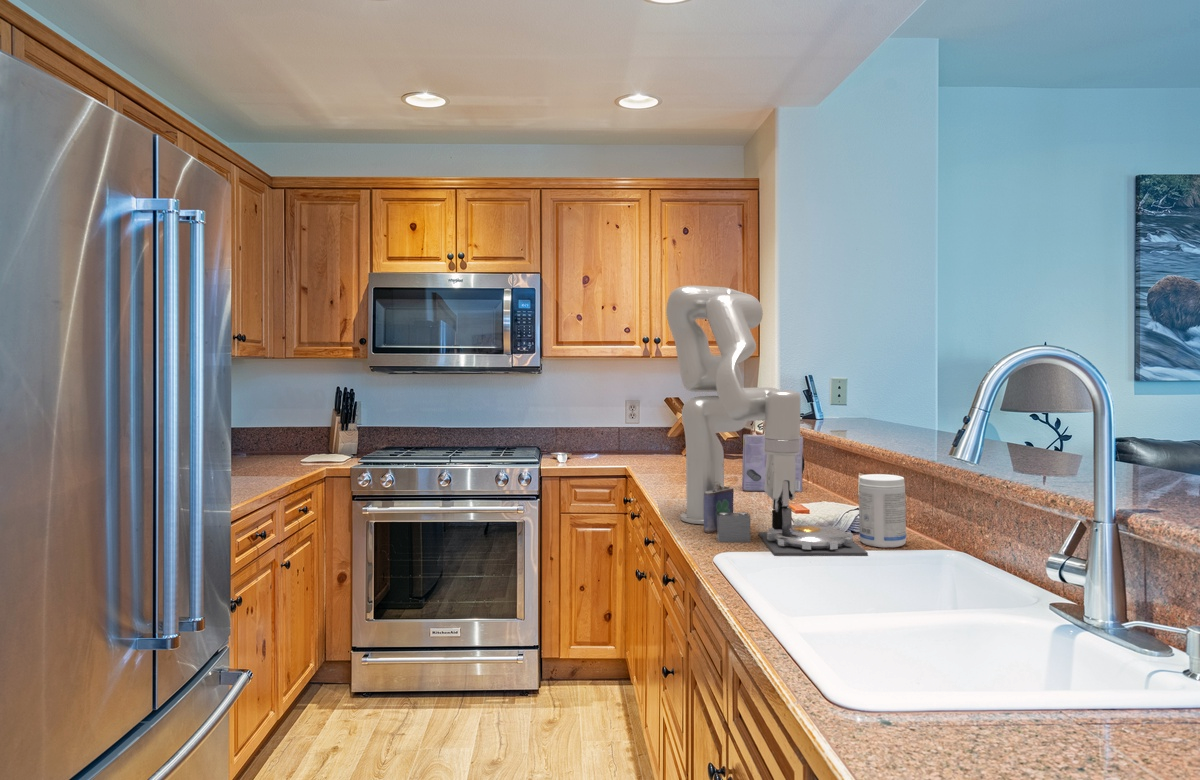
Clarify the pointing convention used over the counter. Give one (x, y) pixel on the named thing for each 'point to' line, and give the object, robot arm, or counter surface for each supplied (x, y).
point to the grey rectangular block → (733, 527)
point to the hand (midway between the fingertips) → (780, 528)
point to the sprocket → (808, 535)
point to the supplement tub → (882, 510)
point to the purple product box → (764, 464)
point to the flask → (716, 505)
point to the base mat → (797, 551)
